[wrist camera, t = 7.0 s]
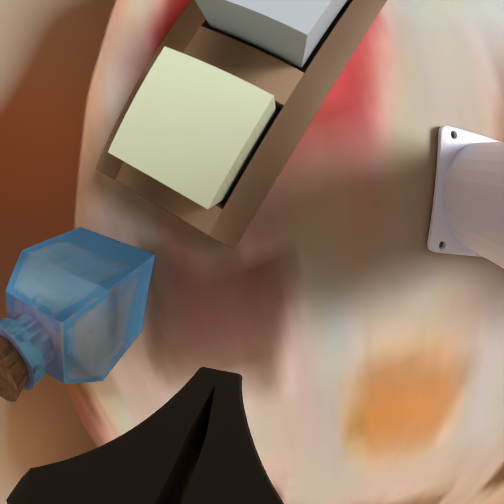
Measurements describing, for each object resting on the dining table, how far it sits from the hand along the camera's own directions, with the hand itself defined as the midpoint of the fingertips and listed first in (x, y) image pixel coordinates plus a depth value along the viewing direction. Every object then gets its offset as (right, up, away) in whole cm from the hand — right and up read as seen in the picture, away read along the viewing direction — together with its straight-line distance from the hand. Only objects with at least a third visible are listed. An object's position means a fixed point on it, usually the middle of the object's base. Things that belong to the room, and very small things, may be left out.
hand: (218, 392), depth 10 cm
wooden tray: (+3, +18, +5) cm, 19 cm away
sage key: (-1, +11, +7) cm, 13 cm away
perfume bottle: (-9, +3, +11) cm, 15 cm away
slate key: (+3, +17, +3) cm, 18 cm away
